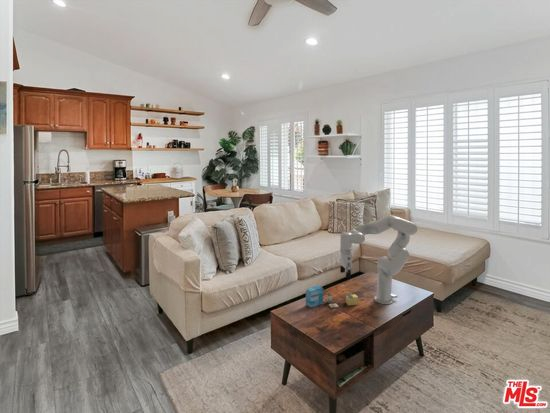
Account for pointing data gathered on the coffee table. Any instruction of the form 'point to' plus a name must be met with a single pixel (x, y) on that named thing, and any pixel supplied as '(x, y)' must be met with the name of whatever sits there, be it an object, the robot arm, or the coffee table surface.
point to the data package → (314, 296)
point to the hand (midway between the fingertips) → (345, 274)
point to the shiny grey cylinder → (329, 298)
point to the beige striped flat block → (333, 305)
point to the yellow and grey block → (351, 299)
